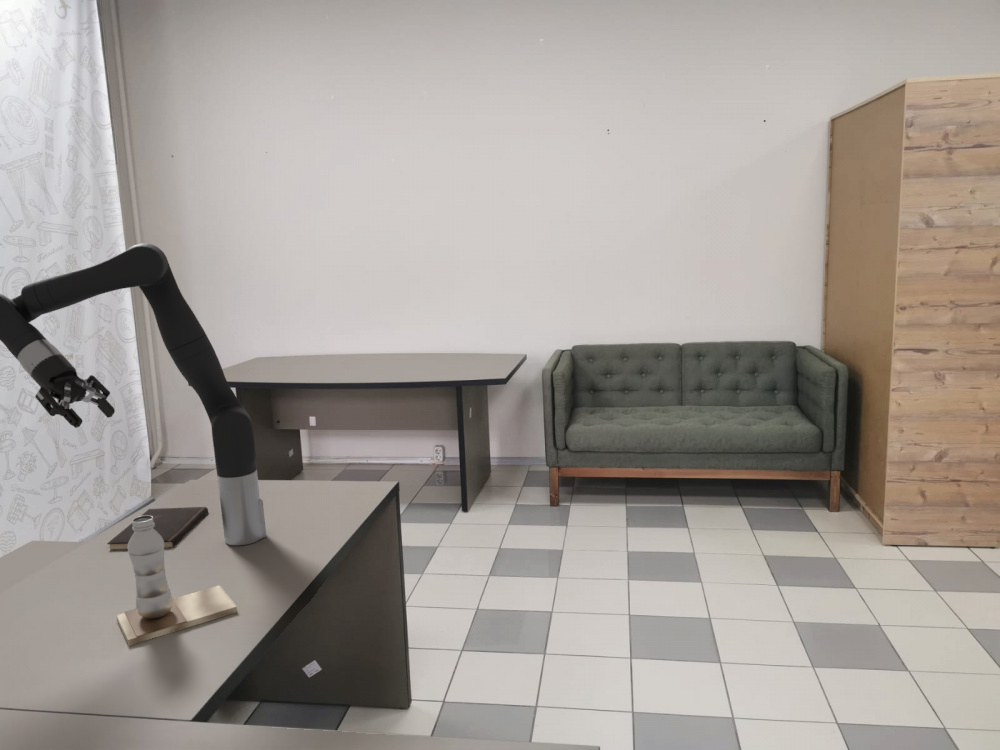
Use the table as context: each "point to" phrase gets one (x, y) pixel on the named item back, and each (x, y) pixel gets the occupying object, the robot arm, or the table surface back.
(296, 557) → the table surface
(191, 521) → the hardcover book
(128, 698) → the table surface
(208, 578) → the table surface
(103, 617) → the table surface
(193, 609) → the board
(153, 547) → the plastic bottle
